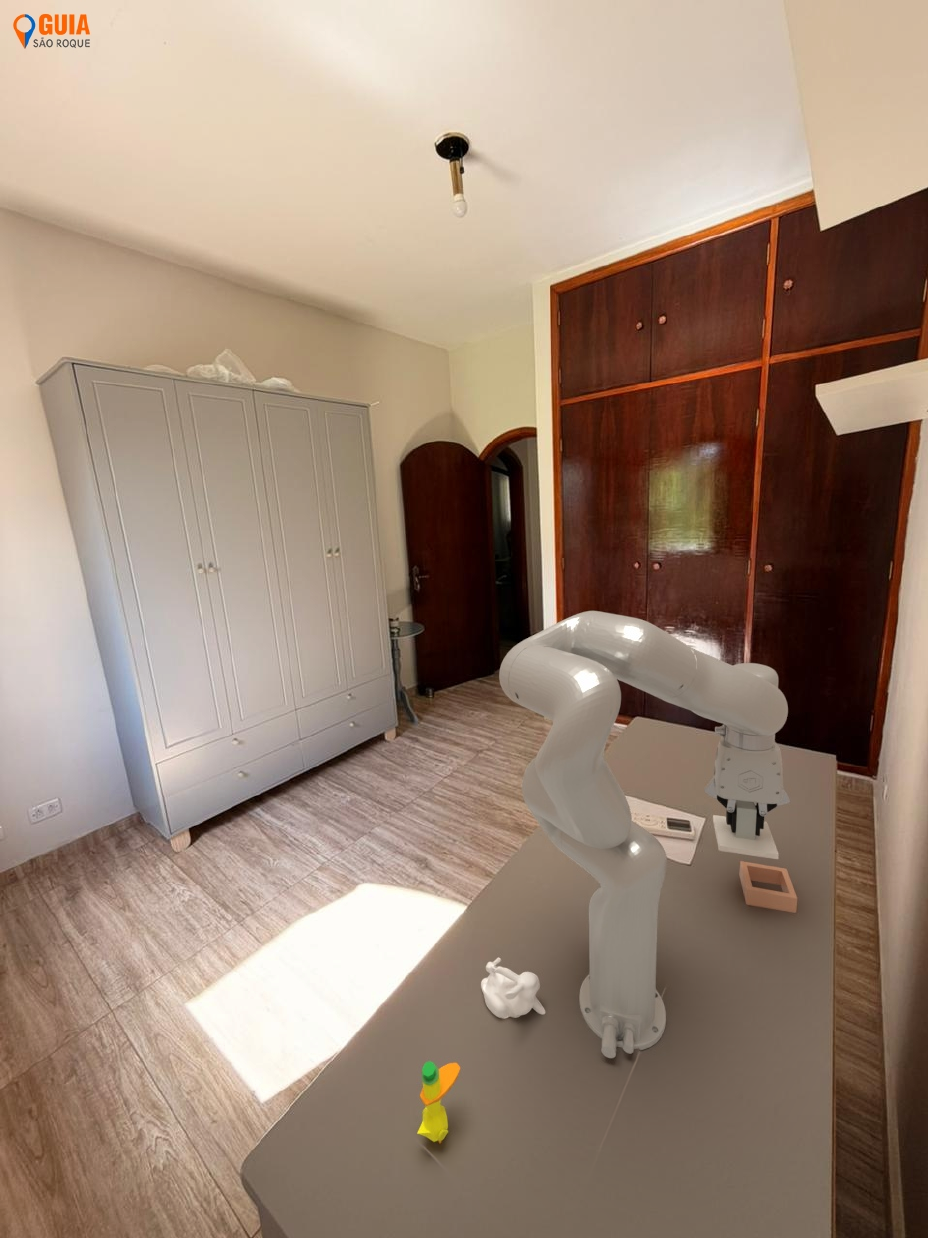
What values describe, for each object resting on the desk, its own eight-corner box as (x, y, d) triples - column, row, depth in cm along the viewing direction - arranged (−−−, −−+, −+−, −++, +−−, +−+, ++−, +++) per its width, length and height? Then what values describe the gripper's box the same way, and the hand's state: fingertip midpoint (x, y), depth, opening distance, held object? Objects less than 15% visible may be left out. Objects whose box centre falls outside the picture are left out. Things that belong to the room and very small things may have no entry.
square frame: (795, 919, 91) (797, 898, 90) (745, 910, 94) (747, 889, 93) (784, 888, 98) (786, 868, 97) (738, 880, 101) (740, 861, 100)
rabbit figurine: (557, 1018, 76) (555, 966, 74) (532, 1062, 70) (530, 1006, 68) (492, 977, 84) (489, 928, 82) (465, 1013, 78) (461, 962, 76)
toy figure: (454, 1104, 66) (448, 1032, 63) (471, 1129, 63) (466, 1054, 61) (411, 1147, 62) (403, 1071, 59) (428, 1175, 59) (420, 1097, 56)
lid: (778, 859, 84) (780, 823, 83) (719, 850, 87) (720, 815, 86) (766, 826, 92) (768, 792, 91) (712, 819, 96) (713, 787, 94)
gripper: (698, 741, 85) (696, 836, 89) (811, 750, 79) (803, 850, 83) (694, 722, 91) (692, 811, 96) (798, 729, 86) (791, 823, 90)
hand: (744, 828), depth 89 cm, fingers closed on lid, 3 cm apart
